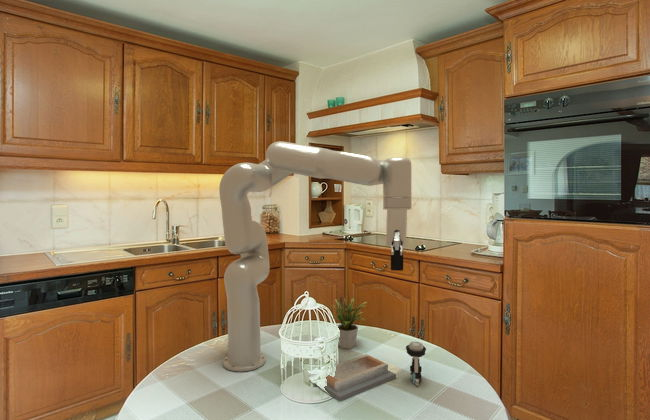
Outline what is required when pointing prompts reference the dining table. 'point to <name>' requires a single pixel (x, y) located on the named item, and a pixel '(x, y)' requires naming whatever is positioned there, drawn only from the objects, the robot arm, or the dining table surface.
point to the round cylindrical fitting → (415, 360)
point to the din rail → (356, 372)
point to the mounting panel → (361, 386)
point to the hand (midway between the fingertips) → (397, 266)
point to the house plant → (348, 324)
